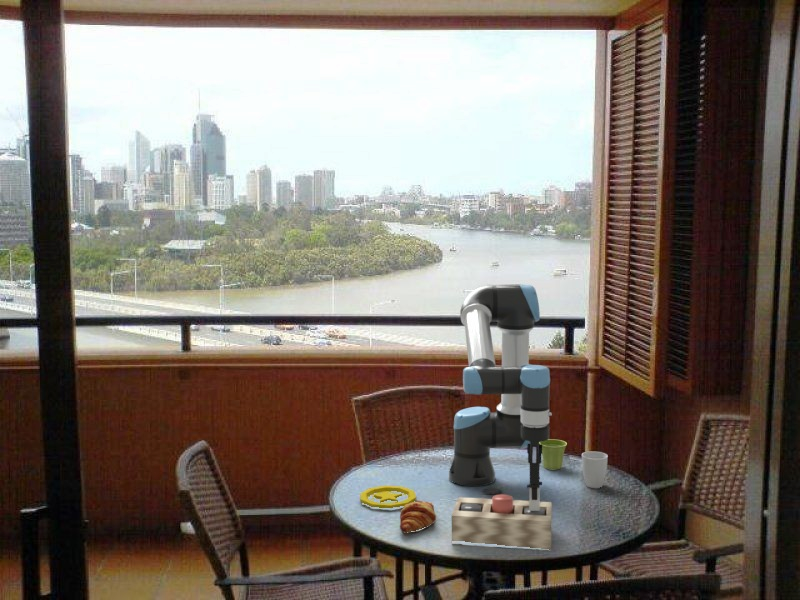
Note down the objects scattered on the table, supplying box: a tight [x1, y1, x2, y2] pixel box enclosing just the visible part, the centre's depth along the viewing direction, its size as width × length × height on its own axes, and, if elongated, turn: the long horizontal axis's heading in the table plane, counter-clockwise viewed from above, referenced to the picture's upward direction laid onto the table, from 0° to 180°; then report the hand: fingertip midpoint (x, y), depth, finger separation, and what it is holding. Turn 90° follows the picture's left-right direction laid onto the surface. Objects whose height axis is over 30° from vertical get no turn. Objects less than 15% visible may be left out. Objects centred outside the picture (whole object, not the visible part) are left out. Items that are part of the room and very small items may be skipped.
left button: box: [461, 503, 481, 512], centre depth 224 cm, size 6×6×5 cm
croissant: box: [399, 500, 437, 534], centre depth 233 cm, size 21×10×8 cm, turn 159°
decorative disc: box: [360, 485, 417, 508], centre depth 252 cm, size 17×18×2 cm
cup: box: [581, 451, 609, 489], centre depth 262 cm, size 8×8×10 cm
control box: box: [451, 496, 553, 551], centre depth 222 cm, size 26×14×8 cm, turn 79°
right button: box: [524, 507, 545, 516], centre depth 221 cm, size 6×6×5 cm
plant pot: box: [539, 438, 568, 471], centre depth 281 cm, size 9×9×9 cm
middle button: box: [491, 494, 514, 514], centre depth 222 cm, size 6×6×5 cm
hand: (534, 509), depth 220 cm, fingers closed
